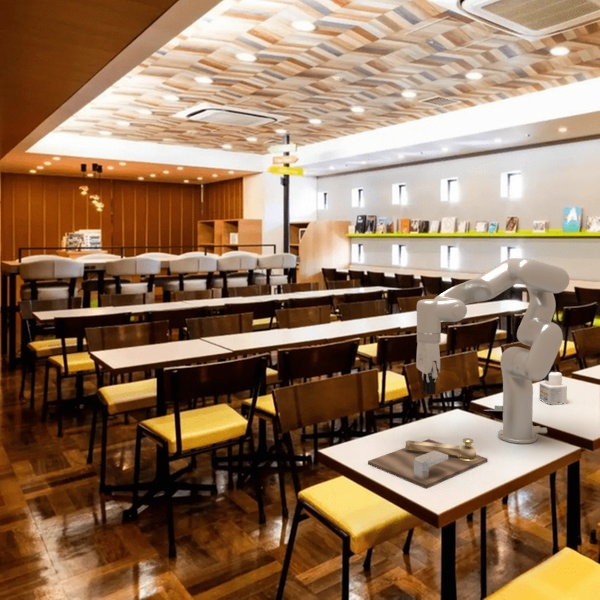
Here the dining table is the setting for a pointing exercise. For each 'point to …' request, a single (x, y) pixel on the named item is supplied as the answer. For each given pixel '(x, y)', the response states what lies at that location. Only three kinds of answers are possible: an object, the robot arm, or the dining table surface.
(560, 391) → the container
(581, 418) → the dining table surface
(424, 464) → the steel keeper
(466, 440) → the brass pin
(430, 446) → the arm link
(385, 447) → the dining table surface
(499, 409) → the metal bracket
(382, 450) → the dining table surface
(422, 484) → the walnut board
